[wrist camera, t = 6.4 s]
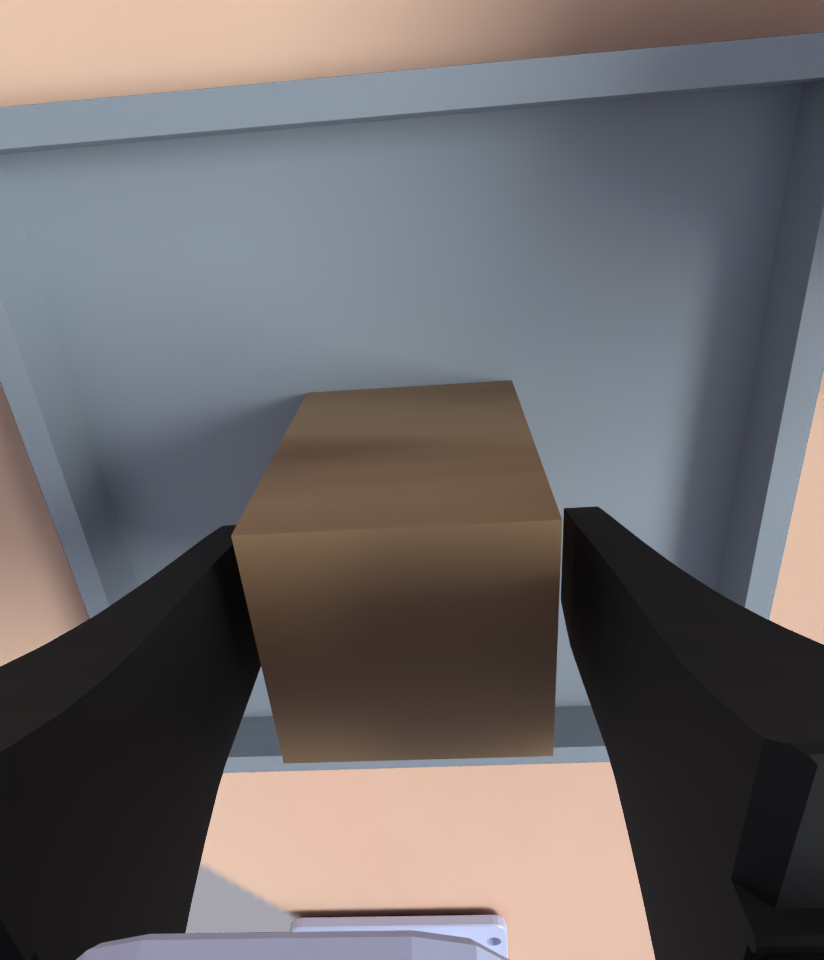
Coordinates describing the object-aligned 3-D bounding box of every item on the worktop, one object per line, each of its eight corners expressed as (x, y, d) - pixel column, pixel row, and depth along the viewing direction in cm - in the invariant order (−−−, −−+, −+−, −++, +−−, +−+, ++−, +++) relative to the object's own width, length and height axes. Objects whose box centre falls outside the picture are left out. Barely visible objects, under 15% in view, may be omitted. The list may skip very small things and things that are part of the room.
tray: (709, 700, 19) (738, 758, 17) (173, 718, 20) (148, 774, 18) (826, 45, 12) (898, 24, 10) (-24, 122, 12) (-100, 116, 11)
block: (512, 554, 16) (552, 755, 11) (332, 562, 16) (283, 762, 11) (511, 380, 14) (561, 519, 9) (306, 392, 14) (231, 536, 9)
